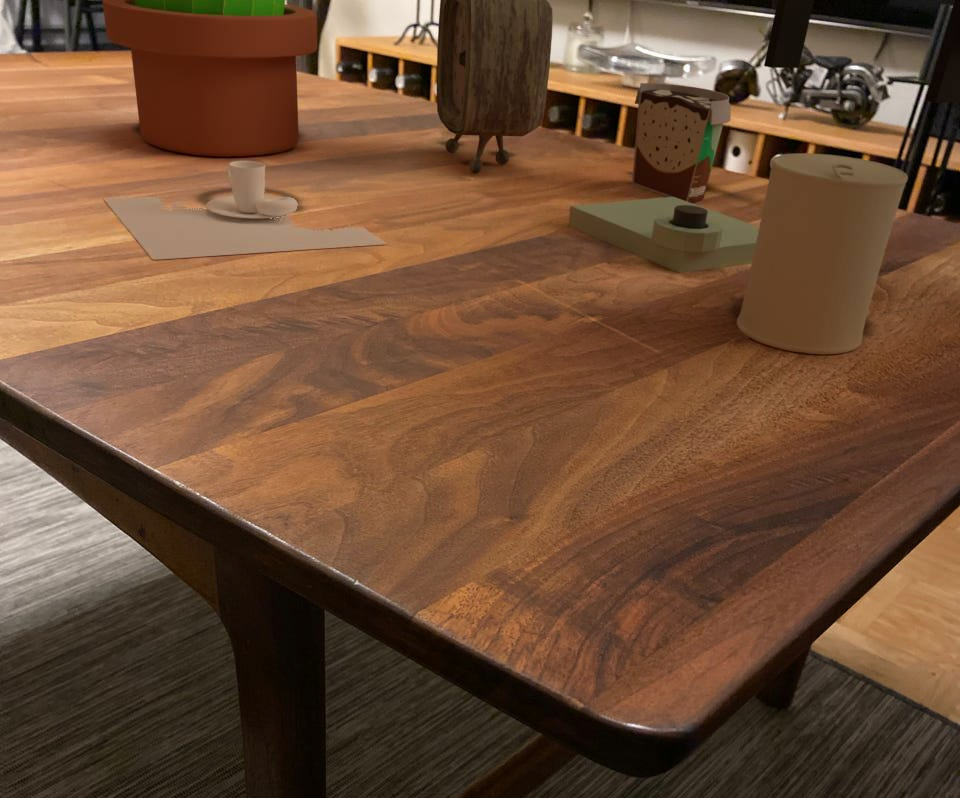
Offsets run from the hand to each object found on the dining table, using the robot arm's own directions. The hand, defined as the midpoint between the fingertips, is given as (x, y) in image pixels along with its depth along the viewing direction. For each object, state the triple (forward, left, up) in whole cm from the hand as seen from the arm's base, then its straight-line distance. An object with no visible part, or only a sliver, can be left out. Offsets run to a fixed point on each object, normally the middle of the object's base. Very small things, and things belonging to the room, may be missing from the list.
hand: (857, 84), depth 68 cm
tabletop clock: (+57, -9, -17) cm, 60 cm away
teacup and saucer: (+42, +27, -17) cm, 52 cm away
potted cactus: (+75, +16, -17) cm, 78 cm away
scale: (+23, -8, -17) cm, 29 cm away
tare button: (+17, -4, -13) cm, 22 cm away
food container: (+39, -23, -17) cm, 48 cm away
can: (0, 0, -17) cm, 17 cm away
